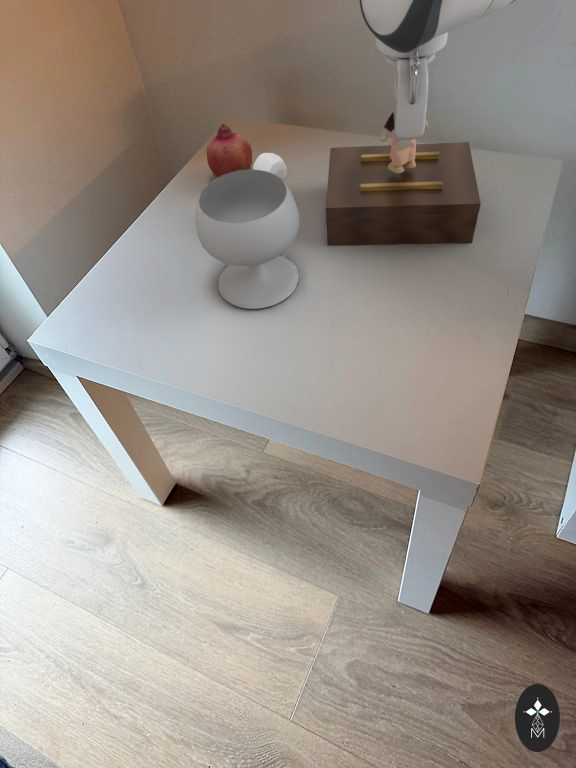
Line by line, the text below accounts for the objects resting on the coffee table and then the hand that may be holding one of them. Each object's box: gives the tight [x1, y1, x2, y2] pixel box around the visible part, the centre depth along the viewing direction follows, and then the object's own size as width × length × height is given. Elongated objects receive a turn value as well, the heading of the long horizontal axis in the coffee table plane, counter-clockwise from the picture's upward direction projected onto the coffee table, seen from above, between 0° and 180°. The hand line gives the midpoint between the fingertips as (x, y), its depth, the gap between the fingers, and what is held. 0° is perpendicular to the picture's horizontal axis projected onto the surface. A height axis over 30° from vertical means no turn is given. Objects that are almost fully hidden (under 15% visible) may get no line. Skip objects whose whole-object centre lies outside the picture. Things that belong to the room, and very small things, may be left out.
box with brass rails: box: [325, 141, 482, 246], centre depth 85 cm, size 22×16×8 cm
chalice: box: [194, 169, 300, 310], centre depth 75 cm, size 14×14×15 cm
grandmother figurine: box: [379, 111, 429, 173], centre depth 76 cm, size 8×4×13 cm, turn 127°
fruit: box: [206, 123, 253, 178], centre depth 94 cm, size 8×8×10 cm
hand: (403, 135), depth 77 cm, fingers closed on grandmother figurine, 3 cm apart
